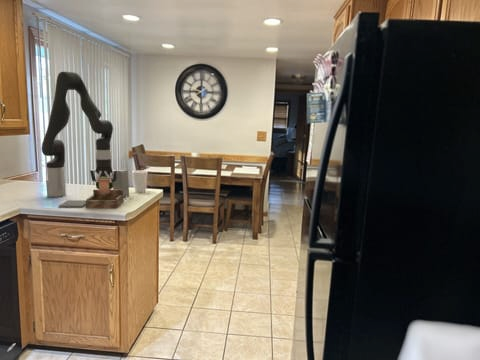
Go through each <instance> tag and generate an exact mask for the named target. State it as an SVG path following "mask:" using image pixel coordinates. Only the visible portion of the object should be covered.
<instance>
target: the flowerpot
mask: <svg viewBox="0 0 480 360" xmlns="http://www.w3.org/2000/svg"><path fill="white" fill-rule="evenodd" d="M98 180H99V189H98V190H99V194H109V193H110V190H111V189H109V183H110V181H109V180H110V179H109V178H107V177H100V178H98Z"/></svg>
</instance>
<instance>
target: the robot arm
mask: <svg viewBox="0 0 480 360" xmlns="http://www.w3.org/2000/svg"><path fill="white" fill-rule="evenodd" d="M68 91H75V92H76V93H77V94H78V95H79V98H80V107H81V110H82V112H83V113H84V114H85V116H86V118H87V119H88V121H89V125H90V127H91V128H90V129H91V130H92V131H93V133H95V134H98V135H101V136H100V137H98V138H97V139H96V140H95V163H96V164H95V169H90V170H89V172H90V176H91V177H90V178H91V181H92V182H95V188H96V190H99V180H98V178H100V177H107V178H109V179H110V180H109V181H110V183H109V189H110V190H113V182H115V181H116V180H117V172H118V171H117V170H118V169H113V168H112V151H111V140H112V135H113V132H114V126H113V124H112V122H111V121H110V120H108V119H107V120H105V119H100V118H101V117H102V113H101V110H100V109H99V108H98V106H97V105H96V104H95V102H94V101H93V99H92V97H91V95H90V93H89V91H88V89H87V86H86V85H85V82H84V81H83V79H82V76H81V75H80V74H79V73H77V72H73V71H61V72H59V73H58V74H57V77H56V82H55V92H54V97H53V103H52V108H51V111H50V114H49V115H50V116H49V120H48V121H49V122H48V125H47V128H46V132H45V134H44V138H43V139H42V140H43V141H42V143H41V152H42V154H43V155H44V156H46V157H53V158H52V159H51V160H49V161H47V162H46V174H47V175H46V176H47V179H46V180H45V183H46V196H47V197H49V198H60V197H64V196H65V197H66V196H67V191H66V190H67V188H66V174H65V162H66V158H65V157H66V152H65V151H66V149H65V148H66V146H65V143H64V141H63V140H61V139H57V136H58V135H59V134H60V133H61V132H62V131H63V129H65V128H66V127H67V125H68V123H69V119H70V116H71V111H70V106H69V104H68V102H67V94H68ZM112 172H113V174H114V177H113V179H112ZM96 174H97V177H96Z"/></svg>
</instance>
